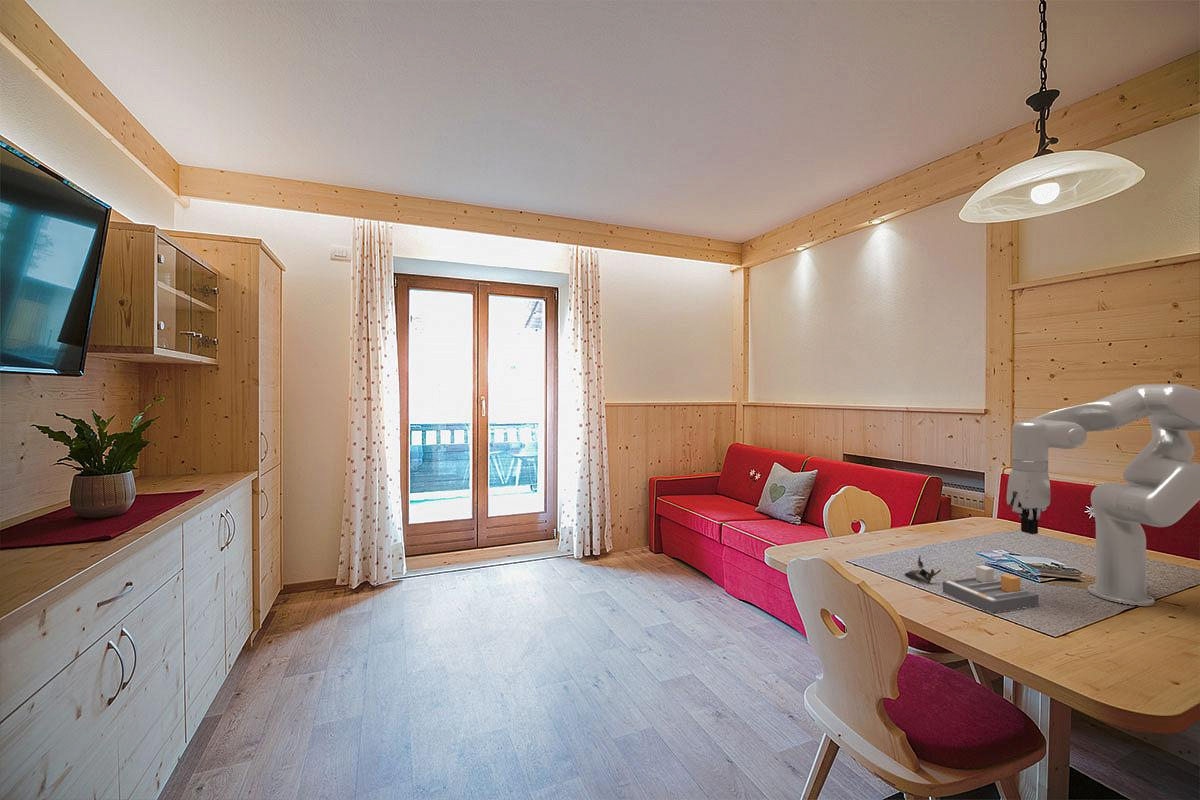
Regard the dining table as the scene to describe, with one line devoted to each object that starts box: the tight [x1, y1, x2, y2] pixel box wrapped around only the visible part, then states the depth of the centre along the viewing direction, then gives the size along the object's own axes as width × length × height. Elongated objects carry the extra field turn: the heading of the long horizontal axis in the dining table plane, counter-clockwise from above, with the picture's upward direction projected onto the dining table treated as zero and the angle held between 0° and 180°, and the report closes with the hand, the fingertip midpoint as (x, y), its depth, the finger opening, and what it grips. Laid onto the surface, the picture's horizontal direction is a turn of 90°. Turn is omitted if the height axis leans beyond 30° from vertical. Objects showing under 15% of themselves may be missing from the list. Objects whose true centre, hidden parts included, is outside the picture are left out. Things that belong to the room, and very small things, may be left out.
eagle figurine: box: [904, 555, 942, 585], centre depth 150 cm, size 8×7×9 cm
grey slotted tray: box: [942, 576, 1040, 613], centre depth 136 cm, size 16×14×4 cm
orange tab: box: [1000, 573, 1021, 592], centre depth 133 cm, size 3×3×4 cm
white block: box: [975, 564, 995, 583], centre depth 140 cm, size 3×3×4 cm
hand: (1029, 532), depth 134 cm, fingers closed
